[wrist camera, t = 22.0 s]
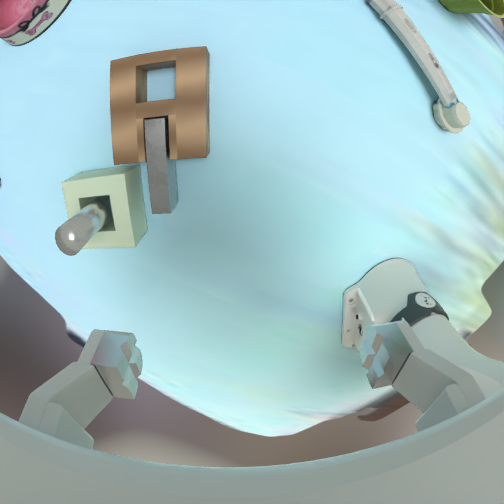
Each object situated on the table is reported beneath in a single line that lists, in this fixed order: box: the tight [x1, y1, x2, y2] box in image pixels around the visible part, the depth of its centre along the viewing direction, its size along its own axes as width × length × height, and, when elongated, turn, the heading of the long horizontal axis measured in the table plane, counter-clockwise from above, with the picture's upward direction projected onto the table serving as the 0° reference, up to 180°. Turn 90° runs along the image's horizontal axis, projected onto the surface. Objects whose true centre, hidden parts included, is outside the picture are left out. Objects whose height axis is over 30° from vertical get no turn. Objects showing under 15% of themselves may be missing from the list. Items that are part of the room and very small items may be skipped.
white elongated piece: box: [366, 0, 470, 133], centre depth 27 cm, size 5×7×25 cm
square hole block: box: [61, 164, 147, 249], centre depth 34 cm, size 10×10×6 cm
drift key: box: [145, 118, 178, 214], centre depth 33 cm, size 12×2×5 cm, turn 179°
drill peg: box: [55, 195, 113, 256], centre depth 31 cm, size 4×4×14 cm
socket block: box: [110, 46, 209, 165], centre depth 29 cm, size 14×12×4 cm
